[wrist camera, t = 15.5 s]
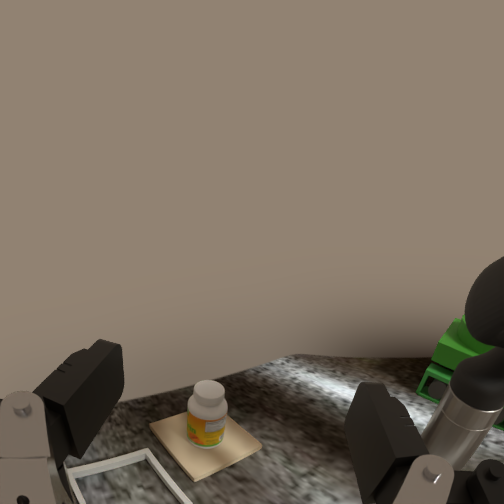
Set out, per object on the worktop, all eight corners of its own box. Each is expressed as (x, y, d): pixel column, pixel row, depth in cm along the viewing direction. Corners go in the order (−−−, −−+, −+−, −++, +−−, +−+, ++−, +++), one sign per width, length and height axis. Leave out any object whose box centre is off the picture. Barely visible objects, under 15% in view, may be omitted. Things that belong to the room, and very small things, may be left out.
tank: (535, 447, 31) (576, 382, 27) (414, 394, 55) (442, 328, 52) (535, 398, 48) (562, 344, 44) (440, 357, 72) (460, 304, 68)
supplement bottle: (181, 427, 40) (182, 379, 38) (214, 422, 43) (220, 374, 41) (194, 453, 36) (197, 405, 33) (229, 445, 38) (237, 397, 36)
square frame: (148, 453, 35) (147, 447, 34) (201, 517, 26) (201, 513, 25) (67, 475, 26) (64, 469, 26) (107, 552, 17) (105, 548, 17)
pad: (212, 406, 48) (213, 402, 48) (261, 448, 39) (262, 444, 39) (149, 427, 40) (149, 423, 40) (193, 482, 31) (194, 478, 31)
